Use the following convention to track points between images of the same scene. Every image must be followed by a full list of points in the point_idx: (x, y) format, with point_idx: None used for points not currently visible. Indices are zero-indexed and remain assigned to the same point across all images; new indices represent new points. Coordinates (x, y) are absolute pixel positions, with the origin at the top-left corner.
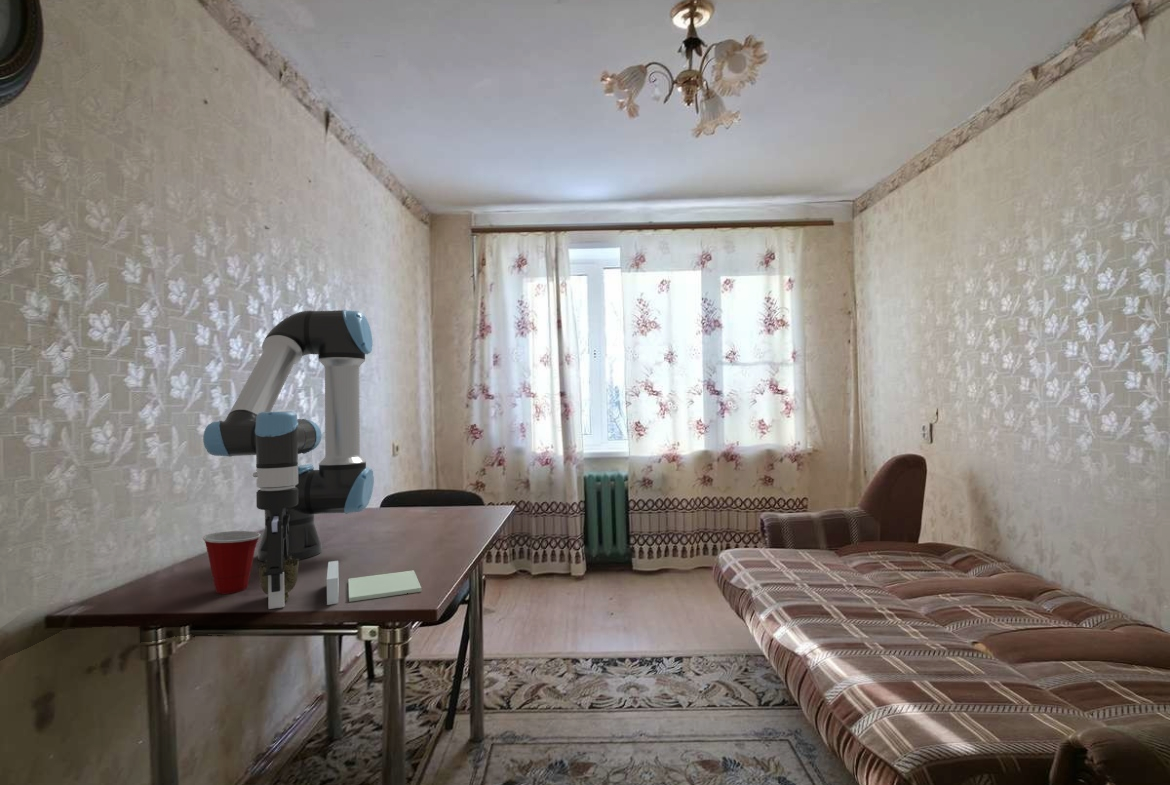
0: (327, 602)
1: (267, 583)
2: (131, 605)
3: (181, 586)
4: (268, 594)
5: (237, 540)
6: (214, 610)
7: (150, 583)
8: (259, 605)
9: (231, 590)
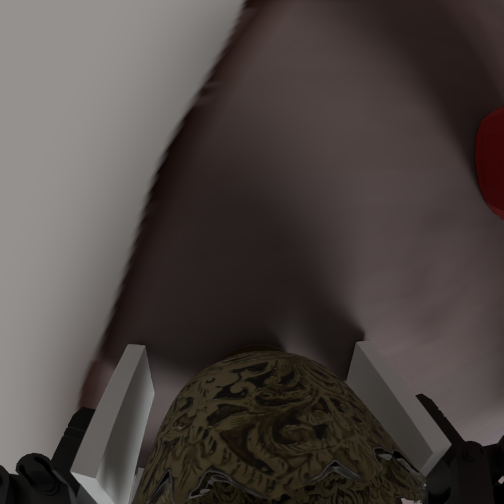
0: (137, 473)
1: (165, 419)
2: None
3: None
4: (108, 387)
5: None
6: (253, 86)
7: None
8: (226, 299)
9: (482, 160)
